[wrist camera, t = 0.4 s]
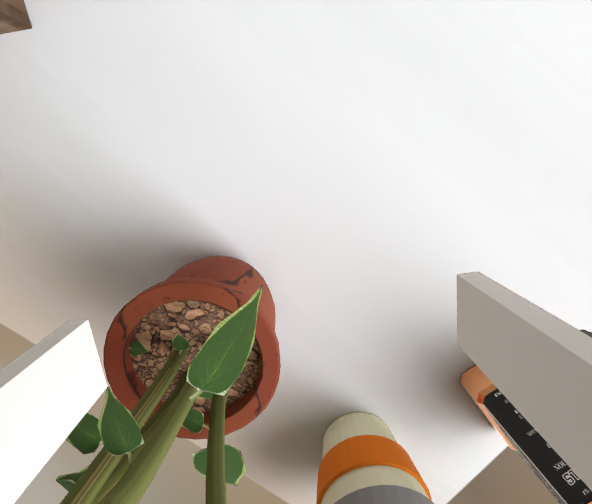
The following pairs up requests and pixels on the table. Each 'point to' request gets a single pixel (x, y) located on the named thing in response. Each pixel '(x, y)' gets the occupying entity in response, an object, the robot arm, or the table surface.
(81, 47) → the table surface
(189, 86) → the table surface
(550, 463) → the whiskey bottle
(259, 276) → the potted plant
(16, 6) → the cubby cabinet
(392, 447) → the reusable coffee cup
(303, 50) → the table surface
